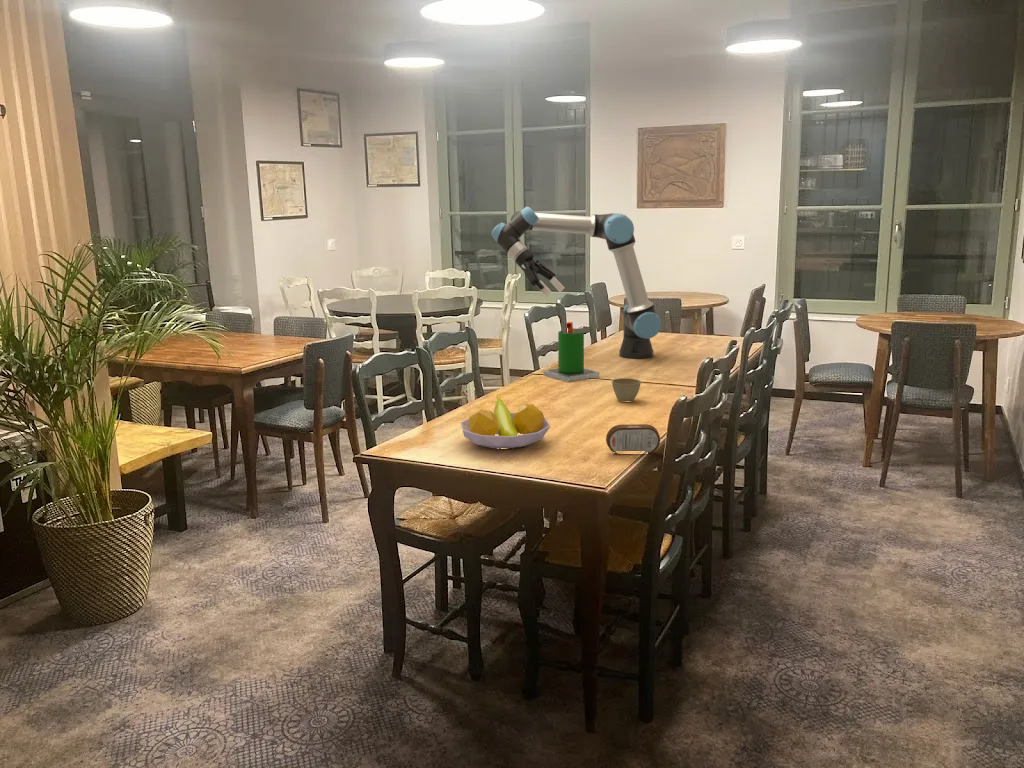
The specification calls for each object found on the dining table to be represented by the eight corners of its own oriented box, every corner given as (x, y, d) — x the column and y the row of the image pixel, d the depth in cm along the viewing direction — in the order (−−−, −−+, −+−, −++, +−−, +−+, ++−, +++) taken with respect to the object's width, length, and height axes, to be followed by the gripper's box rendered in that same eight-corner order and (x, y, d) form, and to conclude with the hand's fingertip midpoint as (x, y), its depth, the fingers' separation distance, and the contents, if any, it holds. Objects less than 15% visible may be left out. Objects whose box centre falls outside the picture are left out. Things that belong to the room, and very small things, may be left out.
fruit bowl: (544, 458, 233) (544, 418, 230) (450, 454, 238) (448, 416, 235) (557, 430, 260) (556, 395, 257) (471, 427, 264) (470, 392, 262)
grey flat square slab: (575, 370, 346) (575, 365, 346) (599, 376, 333) (599, 371, 333) (543, 375, 338) (543, 370, 337) (567, 382, 325) (567, 376, 324)
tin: (658, 451, 237) (659, 422, 235) (660, 455, 234) (661, 425, 232) (605, 453, 237) (605, 424, 235) (607, 456, 234) (607, 427, 232)
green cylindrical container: (584, 368, 339) (584, 319, 334) (583, 373, 330) (583, 323, 326) (558, 368, 340) (558, 319, 335) (557, 373, 331) (557, 323, 327)
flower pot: (629, 405, 288) (630, 385, 286) (606, 401, 295) (606, 381, 293) (646, 400, 295) (646, 380, 293) (622, 396, 302) (622, 376, 300)
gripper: (528, 258, 356) (561, 294, 353) (502, 264, 334) (537, 302, 331) (539, 246, 352) (573, 282, 349) (513, 250, 331) (549, 289, 328)
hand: (555, 292), depth 340 cm, fingers open, 13 cm apart
